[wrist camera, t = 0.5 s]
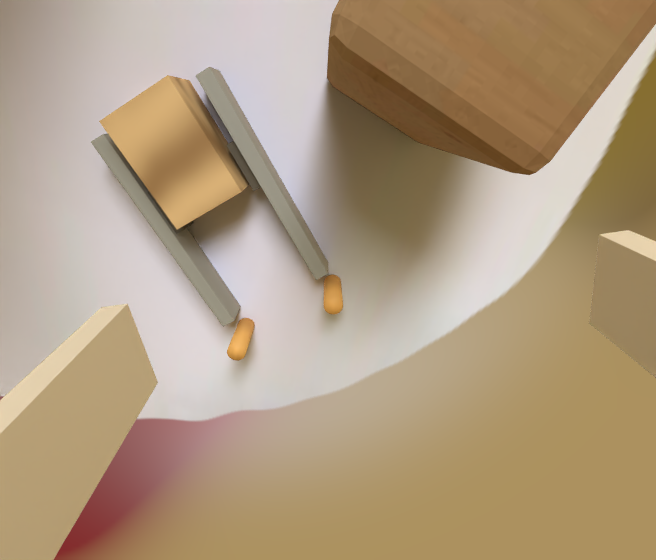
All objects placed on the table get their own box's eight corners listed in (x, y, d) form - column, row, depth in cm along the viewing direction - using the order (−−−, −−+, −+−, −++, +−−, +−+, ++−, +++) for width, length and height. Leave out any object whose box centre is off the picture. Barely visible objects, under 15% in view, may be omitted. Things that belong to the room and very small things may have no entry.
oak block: (130, 120, 34) (99, 121, 29) (190, 80, 32) (167, 75, 28) (195, 214, 37) (177, 229, 32) (252, 181, 35) (241, 191, 31)
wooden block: (425, 147, 34) (541, 189, 16) (321, 80, 32) (317, 37, 14) (502, 28, 31) (762, -94, 13) (392, -55, 29) (511, -346, 11)
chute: (108, 140, 34) (73, 145, 29) (221, 69, 32) (204, 62, 27) (243, 334, 41) (233, 363, 36) (343, 285, 39) (346, 309, 34)
